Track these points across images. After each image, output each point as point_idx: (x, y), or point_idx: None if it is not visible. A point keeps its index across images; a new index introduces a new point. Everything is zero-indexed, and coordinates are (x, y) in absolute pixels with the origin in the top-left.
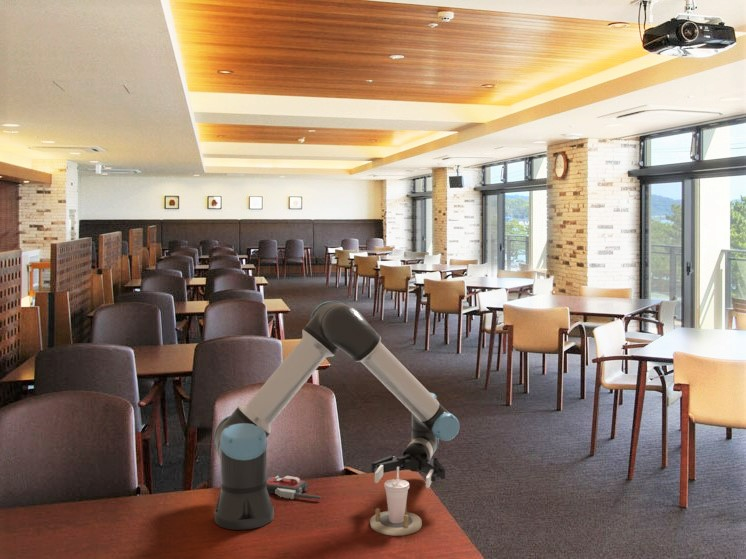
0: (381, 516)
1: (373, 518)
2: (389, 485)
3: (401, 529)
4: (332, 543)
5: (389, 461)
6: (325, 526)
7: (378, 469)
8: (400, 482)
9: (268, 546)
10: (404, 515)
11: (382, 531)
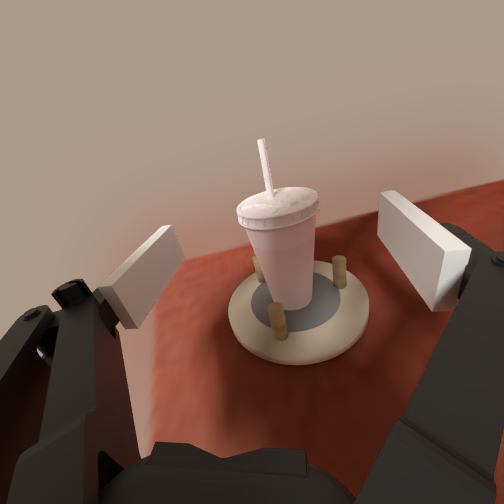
0: (343, 306)
1: (358, 291)
2: (294, 190)
3: None
4: None
5: (498, 350)
6: None
7: (409, 209)
8: (264, 201)
9: (473, 196)
10: None
11: None
